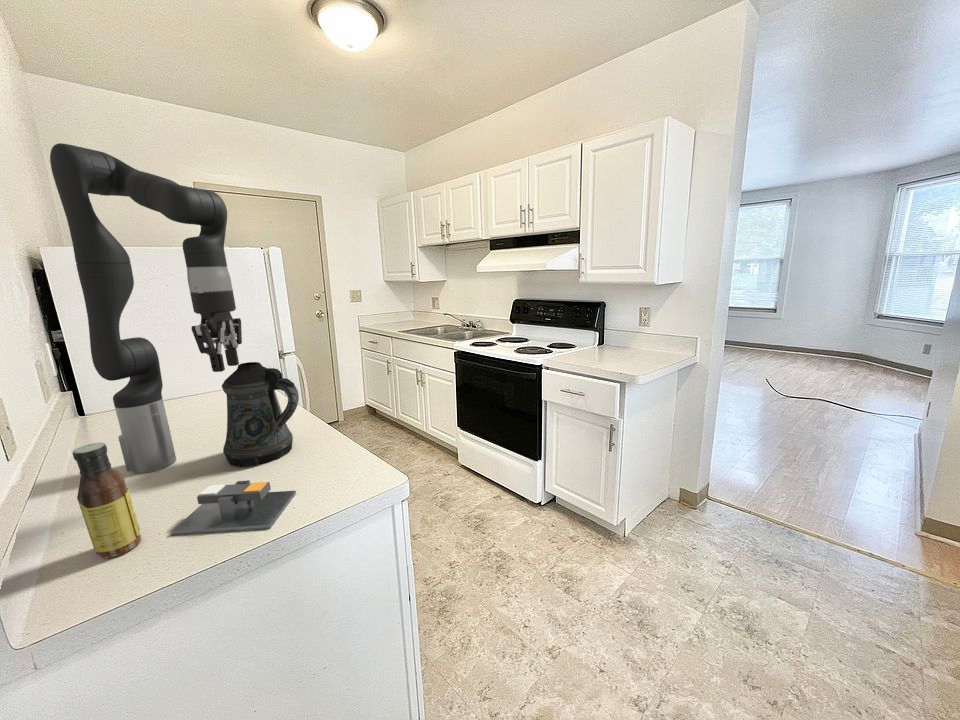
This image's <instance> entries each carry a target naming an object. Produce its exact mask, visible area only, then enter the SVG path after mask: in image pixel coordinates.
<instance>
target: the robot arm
mask: <svg viewBox="0 0 960 720" xmlns="http://www.w3.org/2000/svg"><path fill="white" fill-rule="evenodd" d="M49 162H50V163H49V164H50V169H51V174H52V176H53V180H54V183H55V187H56V189H57V193H58V196H59V199H60V202H61V205H62V207H63V208H62V209H63V211H64V214H65V217H66V220H67V225H68V228H69V233H70V238H71V243H72V248H73V253H74V254H73V255H74V261H75V265H76V270H77V274H78V279H79V282H80V286H81V290H82V294H83V298H84V299H83V300H84V304H85V310H86V315H87V321H88V323H87V324H88V331H89V332H88V333H89V334H88V335H89V346H90V347H89V348H90V354H91V355H90V356H91V360H92V363H93V367H94V368H95V370H96V372H97V373H98V375H99V377H100V378H103V379H104V380H107V381H112V382H113V381H114V382H115V381H119V380H123V379H128V378H129V381H127V383H126V385H125V386H124V387H123V388H122V389H120V390H118V391H117V392H116V393H115V394H114V395H113V397H112V402H113V405H114V409H115V413H116V416H117V417H116V419H117V420H118V425H119V429H120V432H121V434H120V435H118V437H117V438H118V442H119V445H120V450H121V454H122V457H123V462H124V465H125V469H126V471H127V472H131V473H134V474H144V473H145V474H146V473H152V472H154V471H157V470H161V469H163V468H166V467H168V466H170V465H172V464H174V463H175V462H176V461H177V457H176V456H177V455H176V451H175V448H174V442H173V438H172V434H171V430H170V429H171V428H170V424H169V422H168V421H169V420H168V416H167V412H166V408H165V404H164V399H163V398H164V397H163V395H162V391H163V378H162V371H161V366H160V360H159V359H160V358H159V355H158V352H157V350H156V347H155V345H154V344H153V343H152V342H151V341H150V340H149V339H147V338H145V337H139V336H137V337H130V338H123V339H121V334H120V332H121V331H120V321H121V316H122V313H123V311H124V309H125V307H126V305H127V304H128V301H129V299H130V297H131V295H132V293H133V289H134V287H135V286H134V285H135V279H134V274H133V268H132V264H131V263H132V262H131V258H130V256H129V254H128V252H127V250H126V249H125V248H124V246H123V245H122V244H121V243H120V242H119V240H118V239H116V237H115V236H114V235H113V234H112V233H111V232H110V231H109V230H108V229H107V228H106V227H105V226H104V224H103V223H102V222H101V220H100V218H99V217H98V216H97V214H96V212H95V210H94V208H93V204H92V202H91V199H90V195H89V194H92V195H100V196H105V197H106V196H115V197H117V196H118V197H129V198H130V199H131V200H132V201H133V202H134V203H136V204H137V205H139V206H141V207H144V208H146V209H149V210H152V211H155V212H158V213H160V214H162V215H163V216H164V217H166V218H167V219H168V220H171V221H173V222H176V223H179V224H184V225H185V224H186V225H196V226H200V232H199V234H198V236H191V237H187V238H185V239H184V240H183V241H182V250H183V251H182V252H183V256H184V262H185V265H186V266H185V267H186V277H187V284H188V289H189V293H190V294H189V295H190V299H191V305H192V309H193V313H195V314H197V315H200V323H199V324H198V325H192V326H191V328H190V329H191V332H192V334H193V337H194V340H195V342H196V345H197V348H198V350H199V352H200V353H201V354H206V355H207V356H209V360H210V365H211V366H210V367H211V369H212V372H213V373H219V372H220V373H221V372H224V371H225V370H226V369H225V367H226V366H225V362H224V358H223V353H222V345H223V347H224V354H225V361H226V365H227V366H228V367H234V366H235V367H236V366H238V365H239V364H240V362H239V355H238V350H237V349H239V345H241V344H243V339H242V338H243V337H242V333H243V332H242V319H241V317H239V318H233V315H232V313H231V312H235V311H236V309H237V308H236V307H237V306H236V301H235V296H234V290H233V289H234V288H233V285H232V284H233V283H232V278H231V274H230V272H229V269H228V263H227V262H228V261H227V257H226V253H225V239H226V233H227V232H226V231H227V225H228V224H227V223H228V209H227V206H226V203H225V201H224V200H223V198H222V196H220V195H219V194H218V193H217V192H215V191H213V190H208V189H204V188H203V189H202V188H199V187H198V188H197V187H192V186H187V185H181V184H179V183H177V182H175V181H173V180H172V179H169V178H166V177H162V176H159V175H156V174H153V173H150V172H144V171H143V170H142V171H141V170H138V169H136V168H134V167H133V166H130V165H128V164H127V163H125V162H124V161H123V160H121V159H119V158H117V157H115V156H113V155H111V154H108V153H106V152H103V151H100V150H95V149H91V148H87V147H82V146H78V145H73V144H68V143H61V142H60V143H56V144H53V146H52V148H51V150H50V155H49Z"/></svg>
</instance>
